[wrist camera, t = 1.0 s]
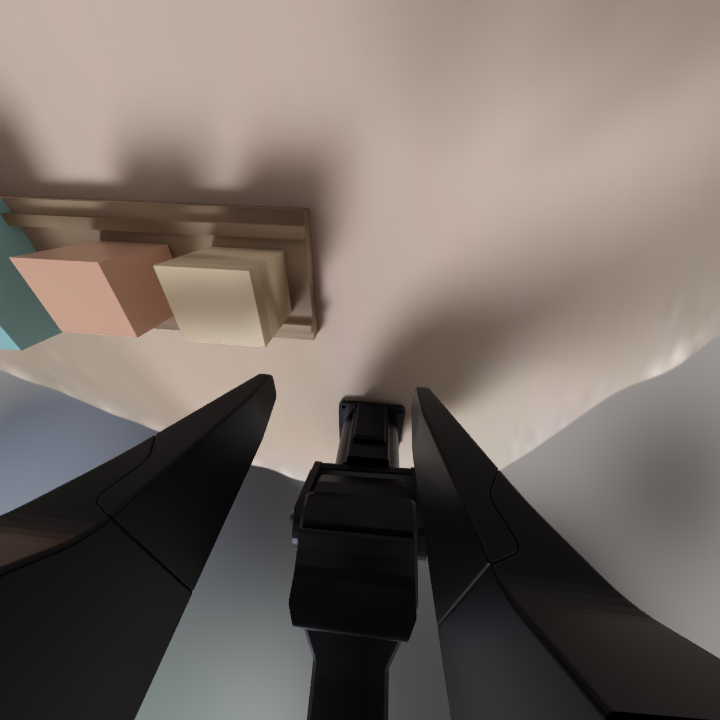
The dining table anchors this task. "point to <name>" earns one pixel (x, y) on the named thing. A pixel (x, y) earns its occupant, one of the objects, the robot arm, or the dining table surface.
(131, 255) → the block
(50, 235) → the channel
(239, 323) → the beige slanted block
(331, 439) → the dining table surface
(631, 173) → the dining table surface
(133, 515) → the robot arm
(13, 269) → the teal end stop
